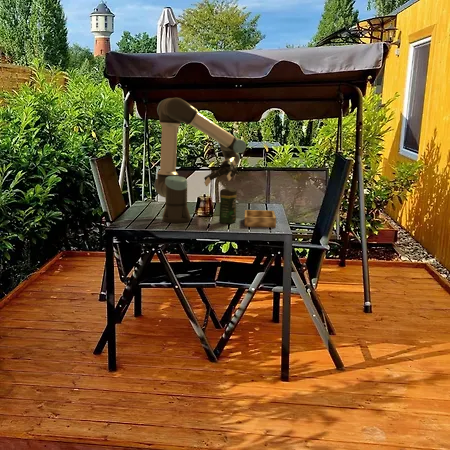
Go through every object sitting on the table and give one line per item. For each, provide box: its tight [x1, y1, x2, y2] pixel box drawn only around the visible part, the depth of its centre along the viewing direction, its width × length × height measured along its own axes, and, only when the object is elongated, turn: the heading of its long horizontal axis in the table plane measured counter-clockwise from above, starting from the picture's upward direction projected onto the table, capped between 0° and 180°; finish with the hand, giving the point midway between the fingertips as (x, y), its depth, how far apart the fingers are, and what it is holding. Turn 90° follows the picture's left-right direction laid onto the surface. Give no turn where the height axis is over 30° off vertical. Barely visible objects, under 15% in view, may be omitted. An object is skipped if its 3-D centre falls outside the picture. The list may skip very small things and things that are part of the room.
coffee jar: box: [218, 187, 238, 225], centre depth 249 cm, size 10×8×19 cm
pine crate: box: [244, 209, 277, 228], centre depth 250 cm, size 16×20×5 cm
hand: (216, 181), depth 252 cm, fingers open, 13 cm apart
